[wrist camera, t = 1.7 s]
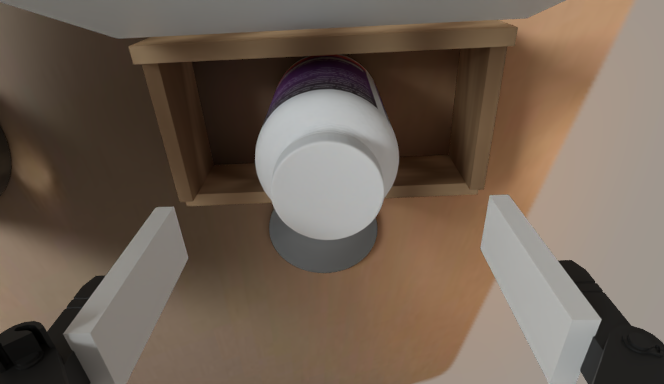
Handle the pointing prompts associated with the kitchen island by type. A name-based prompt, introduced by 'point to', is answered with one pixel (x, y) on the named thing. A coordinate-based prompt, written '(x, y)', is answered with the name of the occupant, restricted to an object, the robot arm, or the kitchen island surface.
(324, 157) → the pill bottle
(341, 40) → the wooden box
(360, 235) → the grey oval disc
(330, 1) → the lid
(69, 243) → the kitchen island surface
